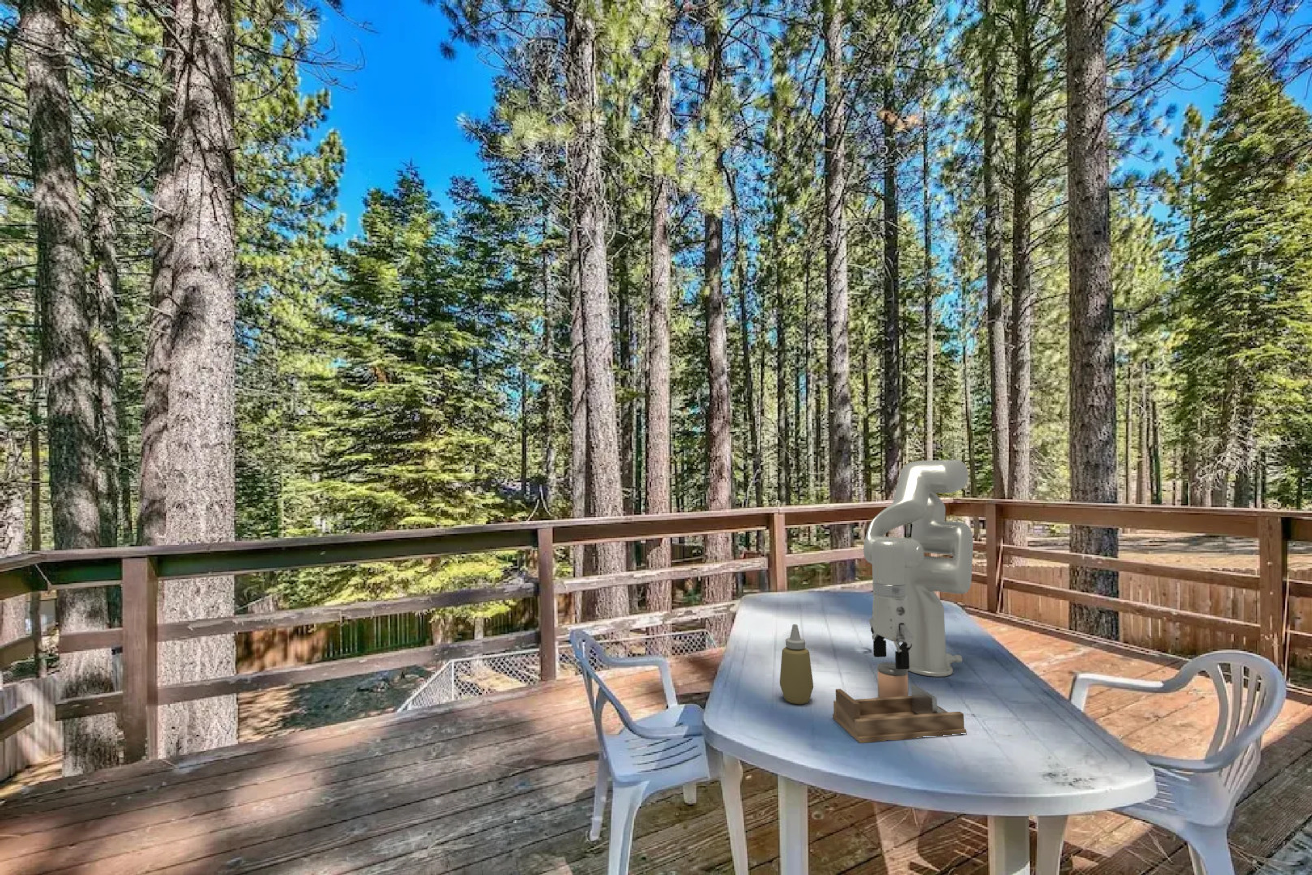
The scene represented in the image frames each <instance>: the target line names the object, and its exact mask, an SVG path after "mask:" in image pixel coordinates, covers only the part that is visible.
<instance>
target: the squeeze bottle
mask: <svg viewBox="0 0 1312 875" xmlns="http://www.w3.org/2000/svg"><path fill="white" fill-rule="evenodd" d="M810 654H811V653H810V650H809V649H808V648H806V641H805V639H804V638H802V637H801V635H800V630H799V626H798V624H796V623H795V624H792V626H791V632H790V636H789V637H787V638H785V647H784V648H783V649H782V650H781V660H780V673H779V675H780V676H779V685H780V689H781V692H782V695H783V697H784V700H785V701H786V702H788V703H789V704H793V705H804V704H808V703H809V702H810V700H811V696H812V693H813V689H814V680H813V671H812V665H811V656H810Z"/></svg>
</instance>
